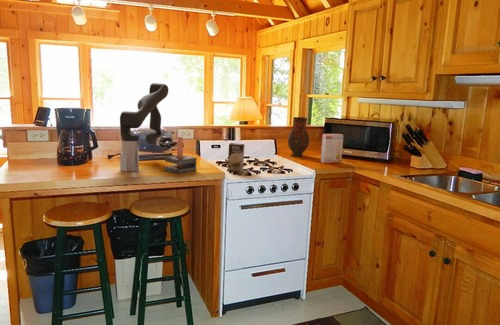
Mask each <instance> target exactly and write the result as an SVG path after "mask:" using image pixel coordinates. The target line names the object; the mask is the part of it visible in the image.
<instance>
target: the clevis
mask: <svg viewBox="0 0 500 325" xmlns="http://www.w3.org/2000/svg"><path fill="white" fill-rule="evenodd" d="M164 162H167V163H170V164H172V165H165V166H164V171H165V172H168V173H173V174H177V175H184V174H187V173H192V172H197V157H195V156H190V155H186V154H183V158H181V159H179V158H177V155H171V156H165V157H164ZM177 164H178V165H181V164H182V168H177Z"/></svg>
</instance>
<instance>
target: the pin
mask: <svg viewBox="0 0 500 325" xmlns="http://www.w3.org/2000/svg"><path fill="white" fill-rule="evenodd" d="M177 142H178V145H177V147H176V149H177V150H176V152H177V154H176V156H177V158H179V159H181V158H183V155H184V153H183V152H184V151H183V150H184V147H183V144H184V136H177ZM176 165H177V168H182V164H181V165H178V164H176Z"/></svg>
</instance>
